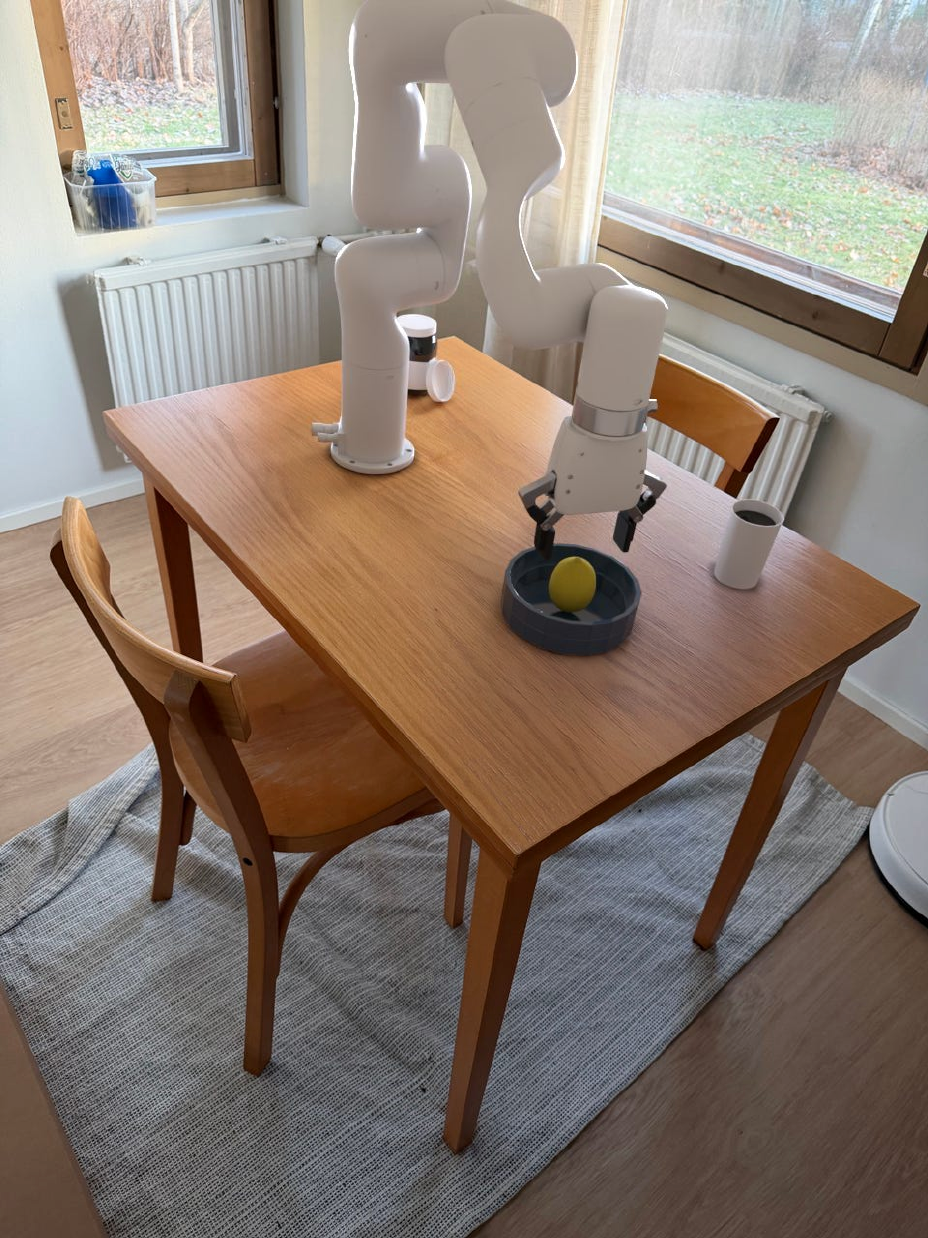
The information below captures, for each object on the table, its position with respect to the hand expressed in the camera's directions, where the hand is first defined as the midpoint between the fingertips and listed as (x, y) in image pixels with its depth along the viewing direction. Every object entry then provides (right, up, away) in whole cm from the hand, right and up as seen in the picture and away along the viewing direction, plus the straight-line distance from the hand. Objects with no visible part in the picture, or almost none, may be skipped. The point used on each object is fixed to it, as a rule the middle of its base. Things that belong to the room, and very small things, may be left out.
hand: (582, 549), depth 104 cm
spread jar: (-21, +31, +52) cm, 65 cm away
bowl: (-1, -7, +6) cm, 10 cm away
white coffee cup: (+23, -2, +16) cm, 28 cm away
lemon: (-1, -7, +6) cm, 10 cm away
